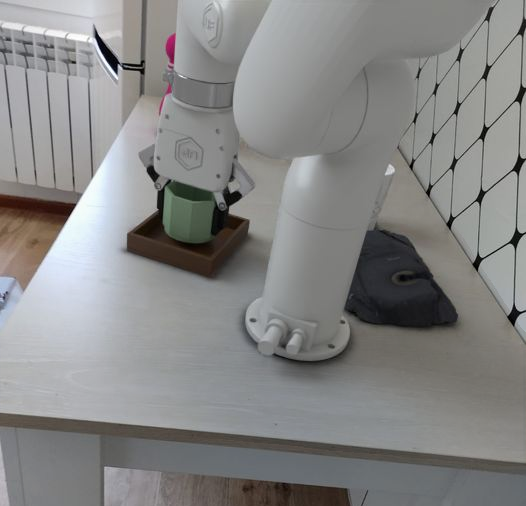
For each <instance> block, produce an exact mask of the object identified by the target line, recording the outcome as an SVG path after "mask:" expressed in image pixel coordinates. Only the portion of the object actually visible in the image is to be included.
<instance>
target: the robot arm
mask: <svg viewBox="0 0 526 506" xmlns="http://www.w3.org/2000/svg"><path fill="white" fill-rule="evenodd" d="M496 1H497V0H177V10H176V28H175V33H176V41H175V57H174V68H173V69H172V70H168V69H164V71H163V73H162V80H163V81H164V82H167V83H168V85H169V84H171V91H172V93H169V94H167V95H165V94H164V95H165V98H164V102H163V105H162V110H161V114H160V116H159V119H158V124H157V130H156V136H155V143H153V144H151V145H149V146H147V147H146V148H144V149H142V150H141V151H139V152H138V158H139V160H140V161H141V163H142V165H143V167H144V168H145V169H146V170H145V172H146V173H147V175H148V176H149V178H150V180H151V181H152V182H153V187H154V189H155V190H156V191H157V193H156V194H157V195H156V196H157V197H156V210H158V209H159V211H158V218H160V219H163V211H164V195H165V186H166V185H168V184H169V183H171V182H172V181H176V182H180V183H183V184H186V185H189V186H193V187H196V188H199V189H203V190H206V191H210V192H213V194H214V197H215V199H216V202H217V207H216V208H215V209H214V210H213V217H212V226H211V234H212V235H213V236H216V235H217V234H218V233H219V232H220V231H221V230H222V229H223V230H224V229H225V228H226V226H227V221H228V214H230V207H231V206H232V205H234V204H236V203H238V202H239V201H240V200H242V199H243V198H244V197H245V196H246V195H248V194H249V193H251V192H252V191H253V190H254V189H255V188H256V183H255V181H254V180H253V179H252V176H250V175H249V173H248V172H247V171H246V170H245V168H244V167H243V166H242V164H241V163H240V162H239V151H240V149H239V148H240V137H241V139H242V140H243V142H244V143H245V144H246V145H247V146H248V148H250V149H251V150H252V151H254V152H255V153H257V154H259V155H260V156H263V157H266V158H269V159H275V160H291V159H292V161H291V163H290V165H289V168H288V170H287V172H286V175H285V179H284V182H283V187H282V190H281V195H280V199H279V204H278V205H279V206H278V212H277V216H276V221H275V227H274V232H273V237H272V243H271V249H270V253H269V258H268V265H267V270H266V275H265V281H264V287H263V291H262V296H260V297H258V298H256V299H254V300H253V301H251V302H250V304H249V305H248V307H247V309H246V312H245V316H244V317H245V319H244V325H245V328H246V330H247V333H248V334H249V336H250V337H251V338H252V340H253V341H254V342H255V343H257V349H258V352H259V353H260V354H261V355H263V356H265V357H269V356H272V355H274V354H275V355H278V356H279V357H284V358H285V359H290V360H295V361H303V362H315V361H323V360H327V359H331V358H333V357H335V356H338V355H339V354H340V353H342V352H343V351H344V350H345V349H346V347H347V345H348V343H349V340H350V337H351V336H350V334H351V329H350V325H349V322H348V321H347V319H346V318H345V315H343V313H344V311H345V308H344V307H345V303H346V300H347V296H348V293H349V290H350V286H351V283H352V279H353V276H354V272H355V269H356V266H357V262H358V259H359V255H360V252H361V248H362V245H363V242H364V238H365V235H366V231H367V228H368V224H369V221H370V219H371V216H372V212H373V209H374V205H375V202H376V199H377V196H378V192H379V189H380V187H381V184H382V181H383V178H384V176H385V173H386V171H387V168H388V166H389V164H390V163H391V161H392V159H393V157H394V156H395V153H396V151H397V149H398V147H399V145H400V143H401V142H402V139H403V137H404V135H405V134H406V133H405V132H406V131H407V128H408V125H409V124H410V121H411V117H412V115H413V112H414V111H413V110H414V107H415V102H416V79H415V76H414V71H413V69H412V66H411V65H410V62H409V59H410V60H411V59H413V60H414V59H424V58H425V59H426V58H431V57H432V58H433V57H435V56H438V55H441V54H444V53H447V52H449V51H450V50H452V49H453V48H454V47H456V46H457V45H458V44H459V43H460V42H461V41H462V40H463V39H465V37H466V36H467V35H468V34H469V33H470V32H471V30H473V28H474V27H475V26H476V25H477V24H478V23H479V21H480V20H481V19H482V17H483V16H484V15H485V14H486V13H487V12H488V10H489V9H491V7H492V6H493V5H494V3H496ZM390 165H391V164H390ZM234 181H237V183H238V185H239V187H238V188H237V189H235V190H234V191H232V190H231V187H230V184H229V183H232V182H234Z"/></svg>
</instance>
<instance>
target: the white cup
mask: <svg viewBox="0 0 526 506" xmlns="http://www.w3.org/2000/svg"><path fill="white" fill-rule="evenodd" d="M395 172H396V169H395V167H394V166H393V165H392V164H389V166H388V168H387V171H386V173H385V176H384V178H383V181H382V184H381V187H380V189H379V192H378V196H377V199H376V202H375V205H374V209H373V212H372V216H371V219H370V221H369V224H368V228H367V231H370V230H375V227H376V224H377V221H378V218H379V215H380V214H381V212H382V209H383V206H384V203H385V200H386V198H387V196H388V192H389V189H390V188H391V184H392V181H393V178H394V175H395Z"/></svg>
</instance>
